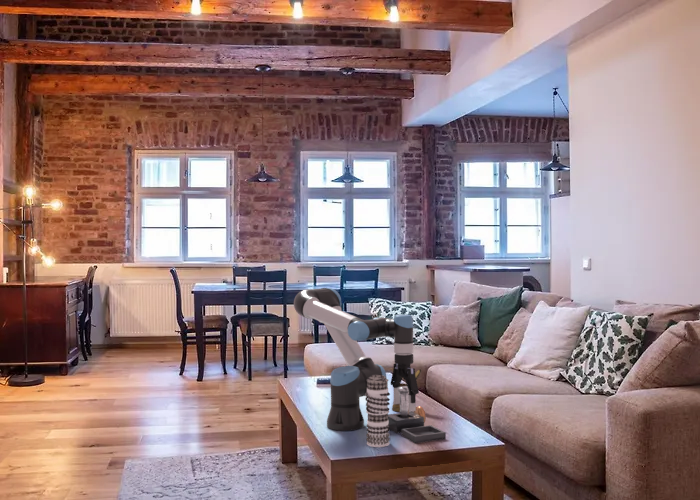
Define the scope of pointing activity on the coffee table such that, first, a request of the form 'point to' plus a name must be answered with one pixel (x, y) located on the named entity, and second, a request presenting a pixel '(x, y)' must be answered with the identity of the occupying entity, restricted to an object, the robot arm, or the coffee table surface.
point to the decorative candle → (377, 411)
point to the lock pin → (404, 401)
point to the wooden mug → (397, 406)
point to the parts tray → (423, 434)
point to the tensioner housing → (407, 420)
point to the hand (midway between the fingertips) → (404, 407)
